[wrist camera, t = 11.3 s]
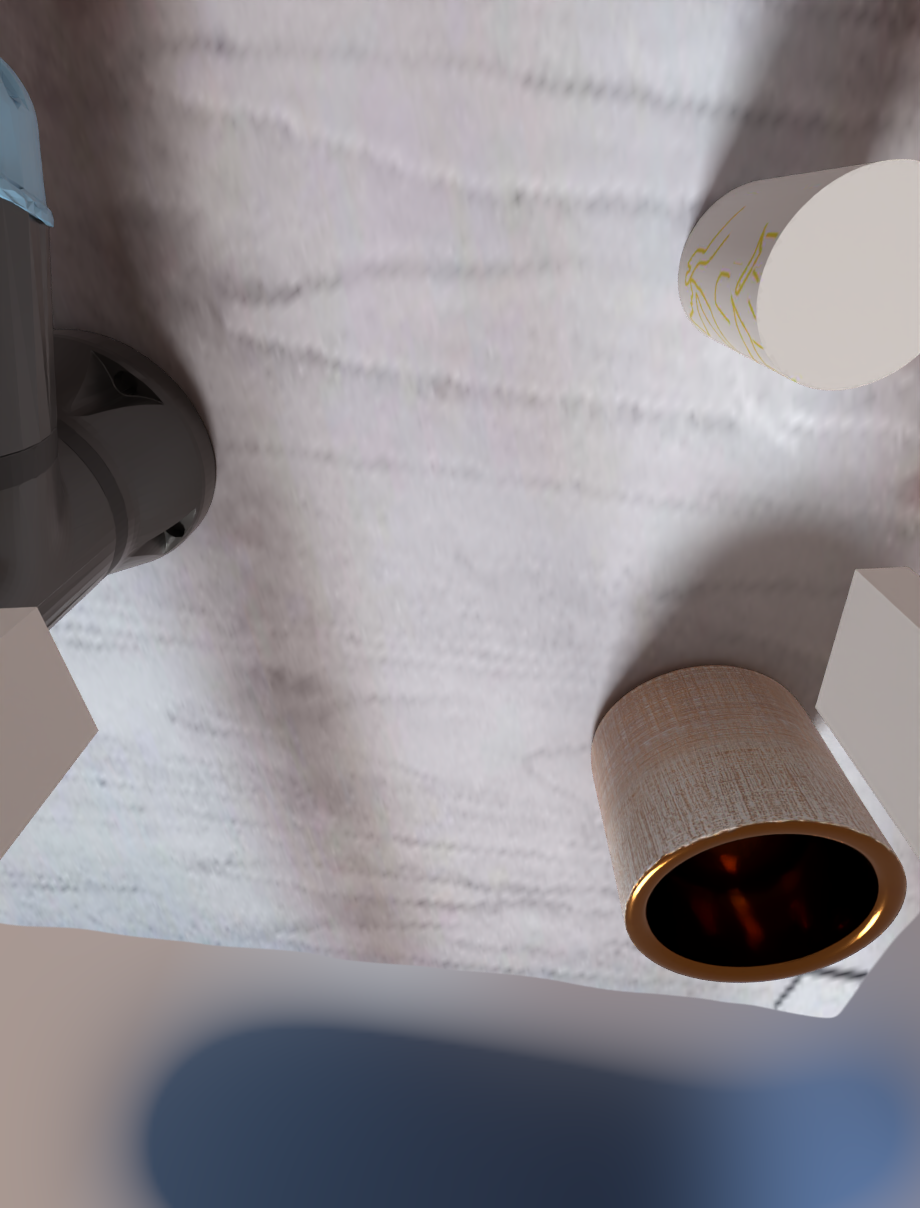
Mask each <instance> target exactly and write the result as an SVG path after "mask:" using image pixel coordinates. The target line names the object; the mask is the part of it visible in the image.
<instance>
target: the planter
mask: <svg viewBox="0 0 920 1208" xmlns="http://www.w3.org/2000/svg"><path fill="white" fill-rule="evenodd" d="M591 765H592V773H593V778H594V783H595V788H596V792H597V797H598V802H599V806H600V811H601V815H602V820H603V824H604V829H605V833H606V838H607V842H608V847H609V851H610V856H611V860H612V865H613V870H614V875H615V879H616V884H617V889H618V894H619V899H620V903H621V908H622V913H623V918H624V922H625V926H626V930H627V932H628V935H629V937H630V939H631V940H632V942H633V943H634V945H635V946H636V947H637V948H638V950H639V951H640V952H641V953H642V954H644V955H645V956H646V957H647V958H649V959H650V960H651V961H653V962H654V963H656V964H658V965H660V966H662V967H664V968H666V969H668V970H670V971H673V972H675V973H678V974H681V975H685V976H688V977H692V978H697V979H702V980H708V981H716V982H729V983H749V982H763V981H772V980H778V979H784V978H789V977H794V976H798V975H802V974H806V973H809V972H813V971H816V970H819V969H822V968H824V967H827V966H829V965H832V964H834V963H837V962H839V961H841V960H843V959H845V958H847V957H849V956H851V955H853V954H854V953H856V952H858V951H859V950H861V949H863V948H864V947H866V946H867V945H868V944H870V943H871V942H872V941H874V940H875V939H876V938H877V937H879V936H880V935H881V934H882V933H883V932H884V931H885V930H886V929H887V928H888V927H889V926H890V924H891V923H892V922H893V921H894V919H895V918H896V916H897V915H898V913H899V911H900V909H901V907H902V905H903V902H904V899H905V895H906V888H907V883H906V876H905V872H904V869H903V866H902V864H901V862H900V860H899V859H898V857H897V855H896V854H895V852H894V851H893V849H892V847H891V846H890V844H889V843H888V841H887V840H886V838H885V837H884V835H883V834H882V832H881V830H880V829H879V827H878V826H877V824H876V823H875V821H874V820H873V818H872V817H871V815H870V813H869V812H868V810H867V809H866V807H865V806H864V804H863V802H862V801H861V799H860V798H859V796H858V795H857V793H856V791H855V790H854V788H853V787H852V785H851V784H850V782H849V780H848V779H847V777H846V776H845V774H844V772H843V771H842V769H841V768H840V766H839V764H838V763H837V761H836V760H835V758H834V756H833V755H832V753H831V752H830V750H829V748H828V747H827V745H826V743H825V742H824V740H823V739H822V737H821V735H820V734H819V732H818V731H817V729H816V728H815V726H814V724H813V723H812V721H811V720H810V718H809V716H808V715H807V713H806V712H805V710H804V709H803V708H802V706H801V705H800V703H799V702H798V701H797V700H796V699H795V697H794V696H793V695H792V694H791V693H790V692H789V691H788V690H787V689H786V688H785V687H783V686H782V685H781V684H779V683H778V682H776V681H775V680H773V679H771V678H769V677H767V676H765V675H763V674H761V673H758V672H755V671H752V670H749V669H744V668H739V667H733V666H723V665H708V666H696V667H689V668H684V669H679V670H676V671H672V672H669V673H666V674H663V675H660V676H658V677H655V678H653V679H651V680H648V681H646V682H645V683H643V684H641V685H639V686H638V687H636V688H634V689H633V690H631V691H630V692H628V693H627V694H626V695H624V696H623V697H622V698H621V699H620V700H618V701H617V702H616V703H615V704H614V705H613V706H612V708H611V709H610V710H609V711H608V712H607V713H606V715H605V716H604V717H603V719H602V721H601V722H600V724H599V726H598V728H597V730H596V733H595V735H594V738H593V742H592V748H591Z"/></svg>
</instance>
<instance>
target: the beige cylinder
mask: <svg viewBox="0 0 920 1208" xmlns="http://www.w3.org/2000/svg"><path fill="white" fill-rule="evenodd" d="M678 290H679V296H680V301H681V304H682V307H683V310H684V312H685V314H686V316H687V318H688V319H689V321H690V322H691V323H692V325H693V326H694V327H695V328H696V329H697V330H698V331H699V332H701V333H702V334H703V335H705V336H706V337H708V338H710V339H712V340H714V341H716V342H718V343H720V344H722V345H724V346H726V347H728V348H730V349H732V350H734V351H736V352H738V353H740V354H742V355H743V356H745V357H747V358H749V359H751V360H753V361H755V362H757V363H759V364H761V365H763V366H765V367H767V368H769V369H771V370H773V371H775V372H777V373H779V374H781V375H783V376H785V377H787V378H788V379H790V380H792V381H794V382H796V383H798V384H801V385H803V386H806V387H809V388H813V389H818V390H831V391H835V390H846V389H852V388H857V387H861V386H864V385H867V384H870V383H873V382H875V381H878V380H880V379H882V378H884V377H886V376H888V375H890V374H892V373H894V372H895V371H897V370H899V369H900V368H902V367H903V366H905V365H906V364H908V363H909V362H910V361H912V360H913V359H914V358H915V357H917V356H918V355H919V354H920V161H917V160H909V159H895V160H885V161H879V162H873V163H866V164H860V165H853V166H847V167H841V168H834V169H828V170H821V171H815V172H808V173H802V174H796V175H789V176H783V177H776V178H770V179H763V180H757V181H753V182H750V183H747V184H744V185H742V186H739V187H737V188H735V189H733V190H732V191H730V192H728V193H727V194H725V195H724V196H722V197H721V198H720V199H719V200H717V201H716V202H715V203H714V204H713V205H712V206H711V207H710V208H709V209H708V210H707V211H706V212H705V213H704V214H703V216H702V217H701V218H700V219H699V221H698V222H697V224H696V225H695V227H694V228H693V230H692V232H691V234H690V235H689V237H688V240H687V242H686V244H685V247H684V249H683V253H682V256H681V260H680V265H679V272H678Z"/></svg>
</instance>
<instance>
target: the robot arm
mask: <svg viewBox="0 0 920 1208" xmlns="http://www.w3.org/2000/svg"><path fill="white" fill-rule="evenodd" d="M49 226H50V227H54V219H53V215H52V212H51V211H50V209H49V208H48V207H47V204H46V197H45V189H44V181H43V171H42V161H41V151H40V141H39V130H38V122H37V117H36V112H35V109H34V106H33V103H32V101H31V99H30V97H29V94H28V92H27V90H26V89H25V87H24V85H23V84H22V82H21V81H20V79H19V78H18V76H17V75H16V73H15V72H14V71H13V70H12V69H11V67H10V66H9V65H8V64H7V63H6V62H5V61H4V60H3V59H2V58H1V57H0V860H1V858H2V857H3V856H4V854H5V853H6V852H7V850H8V849H9V848H10V846H11V845H12V844H13V842H14V841H15V840H16V838H17V837H18V836H19V835H20V833H21V832H22V831H23V829H24V828H25V827H26V825H27V824H28V823H29V821H30V820H31V819H32V817H33V816H34V815H35V813H36V812H37V811H38V810H39V808H40V807H41V806H42V804H43V803H44V802H45V800H46V799H47V798H48V796H49V795H50V794H51V792H52V791H53V790H54V788H55V787H56V786H57V785H58V783H59V782H60V781H61V779H62V778H63V777H64V775H65V774H66V773H67V771H68V770H69V769H70V767H71V766H72V765H73V763H74V762H75V761H76V760H77V758H78V757H79V756H80V754H81V753H82V752H83V750H84V749H85V748H86V746H87V745H88V744H89V742H90V741H91V740H92V738H93V737H94V736H95V735H96V733H97V732H98V729H97V727H96V725H95V723H94V721H93V719H92V717H91V715H90V713H89V711H88V708H87V706H86V704H85V702H84V700H83V698H82V696H81V694H80V692H79V690H78V688H77V686H76V684H75V682H74V680H73V678H72V676H71V674H70V672H69V670H68V668H67V666H66V664H65V662H64V660H63V658H62V656H61V654H60V652H59V650H58V648H57V646H56V644H55V642H54V640H53V638H52V636H51V634H50V632H49V630H50V629H51V628H52V627H53V626H54V625H55V624H56V623H57V622H58V621H59V620H60V619H61V618H62V617H64V616H65V615H66V614H67V613H68V612H69V611H70V610H71V609H72V608H73V607H74V606H75V605H76V604H77V603H78V602H79V601H80V600H82V599H83V598H84V597H85V596H86V595H87V594H88V593H89V592H90V591H91V590H92V589H93V588H94V587H95V586H96V585H97V584H98V583H99V582H100V581H101V580H102V579H103V578H104V577H106V576H107V575H109V574H112V573H115V572H119V571H122V570H125V569H128V568H131V567H135V566H138V565H141V564H144V563H148V562H151V561H154V560H156V559H158V558H161V557H162V556H164V555H166V554H168V553H169V552H171V551H172V550H174V549H175V548H177V547H178V546H179V545H180V544H181V543H182V542H184V541H185V540H186V539H187V537H188V536H189V535H190V534H191V533H192V532H193V531H194V530H195V529H196V528H197V527H198V526H199V524H200V523H201V522H202V520H203V519H204V517H205V515H206V514H207V512H208V509H209V507H210V505H211V502H212V498H213V494H214V489H215V478H216V474H215V461H214V455H213V450H212V446H211V443H210V440H209V436H208V434H207V431H206V429H205V427H204V424H203V422H202V420H201V418H200V416H199V415H198V413H197V411H196V409H195V408H194V406H193V405H192V403H191V402H190V400H189V399H188V398H187V396H186V395H185V394H184V392H183V391H182V390H181V389H180V387H179V386H178V385H177V384H176V383H175V382H174V381H173V380H172V379H171V378H170V377H169V376H168V375H167V374H166V373H165V372H164V371H163V370H162V369H160V368H159V367H158V366H157V365H156V364H154V363H153V362H152V361H150V360H149V359H148V358H146V357H145V356H143V355H142V354H140V353H139V352H137V351H135V350H134V349H132V348H130V347H128V346H126V345H124V344H122V343H120V342H118V341H116V340H113V339H111V338H108V337H105V336H102V335H99V334H95V333H91V332H86V331H81V330H71V329H55V330H53V315H52V289H51V263H50V237H49ZM815 708H816V709H817V711H818V712H819V714H820V715H821V717H822V718H823V720H824V721H825V723H826V724H827V726H828V727H829V728H830V730H831V731H832V733H833V734H834V736H835V737H836V739H837V740H838V742H839V743H840V745H841V746H842V747H843V749H844V750H845V752H846V753H847V755H848V756H849V758H850V759H851V761H852V762H853V764H854V765H855V766H856V768H857V769H858V771H859V772H860V774H861V775H862V777H863V778H864V780H865V781H866V783H867V784H868V786H869V787H870V788H871V790H872V791H873V793H874V794H875V796H876V797H877V799H878V800H879V802H880V803H881V805H882V806H883V807H884V809H885V810H886V812H887V813H888V815H889V816H890V818H891V819H892V821H893V822H894V824H895V825H896V826H897V828H898V829H899V831H900V832H901V834H902V835H903V837H904V838H905V840H906V841H907V843H908V844H909V845H910V847H911V848H912V850H913V851H914V853H915V854H916V856H917V857H918V859H919V860H920V576H919V575H917V574H916V573H915V572H914V571H912V570H911V569H910V568H909V567H889V568H868V569H855V572H854V576H853V579H852V582H851V586H850V589H849V593H848V596H847V600H846V603H845V607H844V610H843V613H842V617H841V620H840V624H839V627H838V631H837V634H836V637H835V641H834V644H833V648H832V651H831V655H830V658H829V662H828V665H827V668H826V672H825V675H824V679H823V682H822V686H821V689H820V693H819V696H818V699H817V703H816V706H815Z"/></svg>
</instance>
